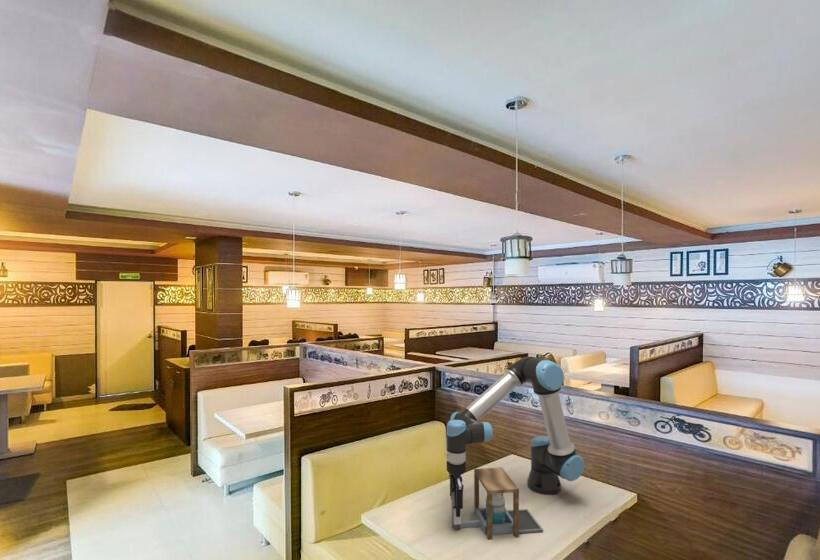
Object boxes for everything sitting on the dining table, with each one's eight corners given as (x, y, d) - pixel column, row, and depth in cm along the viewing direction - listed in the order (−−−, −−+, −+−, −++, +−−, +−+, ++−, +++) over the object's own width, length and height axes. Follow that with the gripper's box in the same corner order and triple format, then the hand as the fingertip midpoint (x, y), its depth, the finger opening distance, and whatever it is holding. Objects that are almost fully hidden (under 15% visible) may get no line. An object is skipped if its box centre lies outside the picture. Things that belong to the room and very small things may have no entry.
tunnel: (501, 510, 177) (501, 467, 177) (518, 537, 158) (518, 488, 158) (474, 512, 175) (474, 469, 176) (488, 539, 157) (488, 490, 157)
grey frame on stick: (504, 513, 174) (504, 482, 174) (516, 532, 161) (516, 498, 161) (448, 517, 171) (448, 485, 171) (455, 537, 158) (455, 502, 158)
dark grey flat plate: (527, 511, 176) (527, 509, 176) (543, 532, 161) (543, 529, 161) (504, 513, 175) (504, 510, 175) (518, 534, 160) (518, 531, 160)
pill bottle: (483, 519, 170) (483, 486, 170) (501, 518, 171) (501, 485, 171) (488, 530, 163) (488, 495, 163) (507, 529, 163) (507, 494, 164)
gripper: (442, 453, 173) (442, 510, 173) (451, 470, 156) (451, 533, 156) (460, 452, 174) (460, 508, 174) (471, 469, 157) (471, 532, 157)
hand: (456, 520), depth 165 cm, fingers closed on grey frame on stick, 4 cm apart
